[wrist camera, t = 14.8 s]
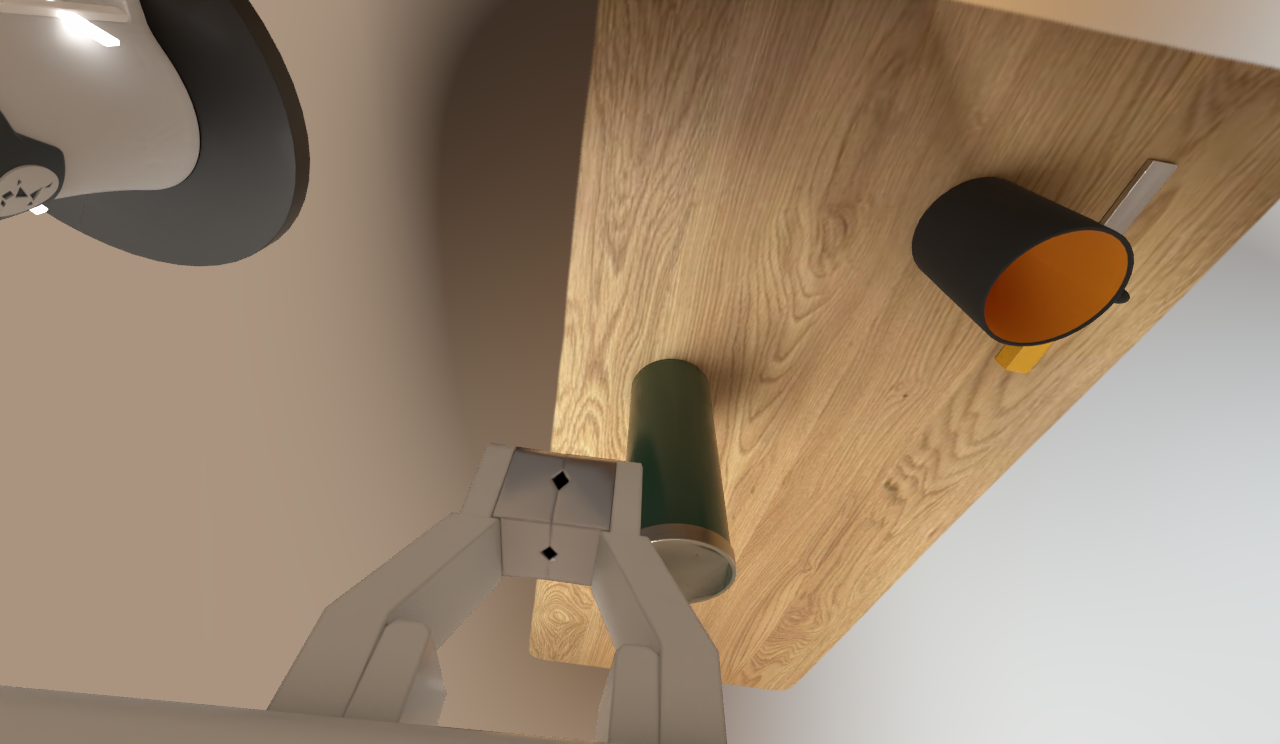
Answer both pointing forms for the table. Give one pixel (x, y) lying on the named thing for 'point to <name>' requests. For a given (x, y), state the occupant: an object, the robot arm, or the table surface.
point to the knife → (1116, 219)
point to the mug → (1021, 261)
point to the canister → (681, 477)
